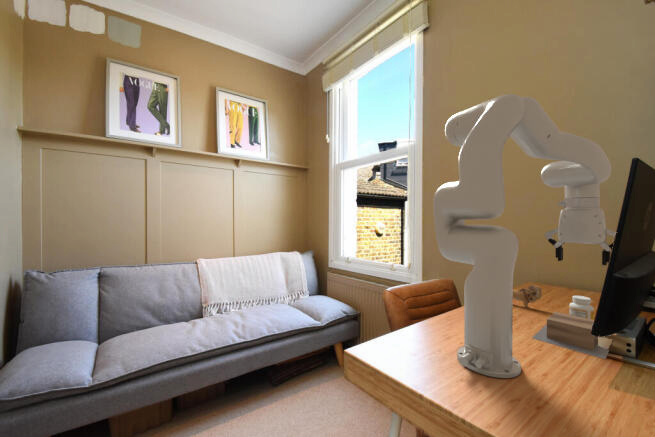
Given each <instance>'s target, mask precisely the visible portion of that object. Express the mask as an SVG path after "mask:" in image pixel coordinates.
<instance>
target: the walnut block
mask: <svg viewBox="0 0 655 437" xmlns="http://www.w3.org/2000/svg"><path fill="white" fill-rule="evenodd" d="M594 320H595V319H594ZM594 320H592V319H587V318H583V317H578V316H573V315H569V313H568V314H567V313H564V312H563V313H562V312H559V311H554V312H553V313H552V314H551V315H550V316H549V317H547V318H546V324H547V338H550V339H554V340H557V341H561V342H565V343H568V344H572V345H576V346H579V347H583V348H586V349H590V350H593V349H594V347H595V345H596V343H597V342H598V337H596V336H594V335H592V334H591V328H592V324H593V322H594Z"/></svg>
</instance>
